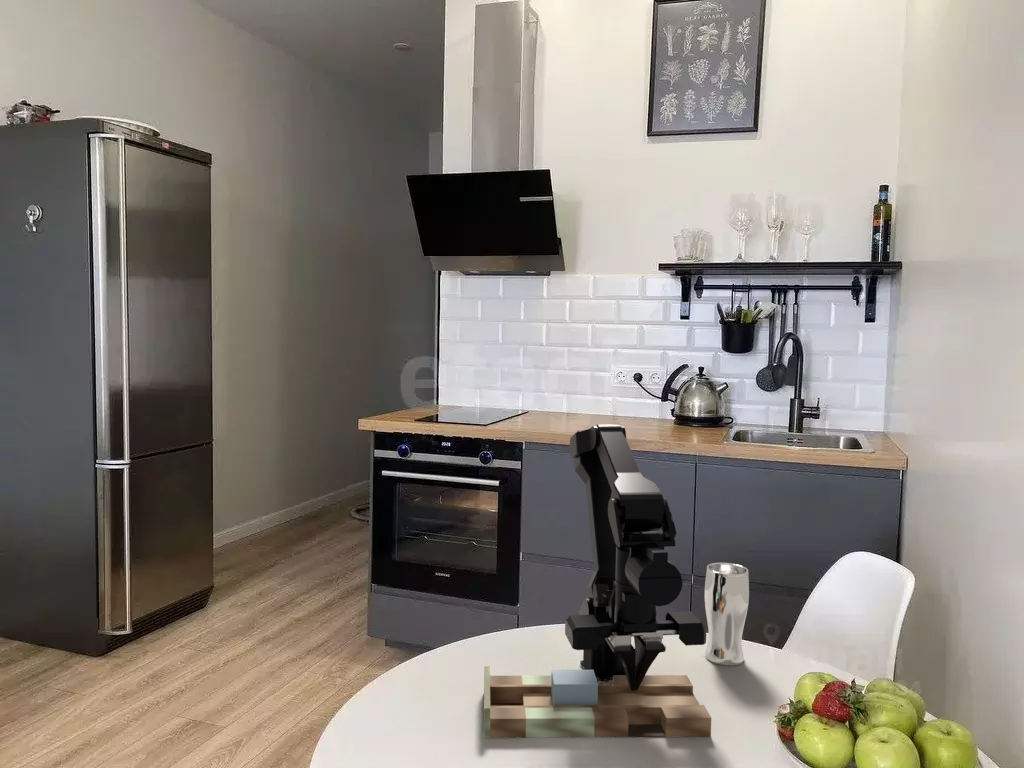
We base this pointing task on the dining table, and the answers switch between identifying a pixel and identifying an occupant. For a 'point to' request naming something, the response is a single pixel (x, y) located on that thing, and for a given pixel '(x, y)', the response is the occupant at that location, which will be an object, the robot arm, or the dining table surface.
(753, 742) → the dining table surface
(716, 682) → the dining table surface
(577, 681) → the block
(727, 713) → the dining table surface
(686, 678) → the tray
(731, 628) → the beer glass
